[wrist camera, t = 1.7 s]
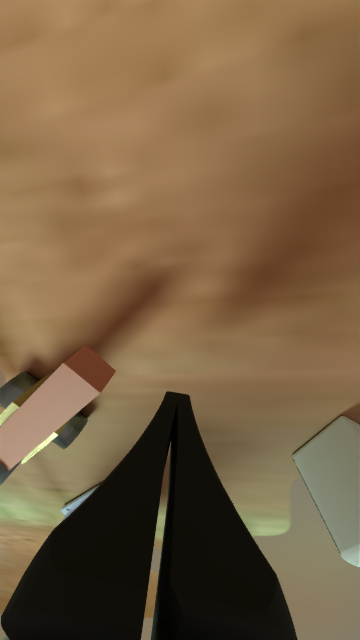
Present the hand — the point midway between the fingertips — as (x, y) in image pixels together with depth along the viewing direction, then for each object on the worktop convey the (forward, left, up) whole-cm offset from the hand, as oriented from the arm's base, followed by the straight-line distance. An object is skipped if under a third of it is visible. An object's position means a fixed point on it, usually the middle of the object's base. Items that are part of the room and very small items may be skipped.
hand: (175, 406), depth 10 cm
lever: (-9, +5, -1) cm, 10 cm away
